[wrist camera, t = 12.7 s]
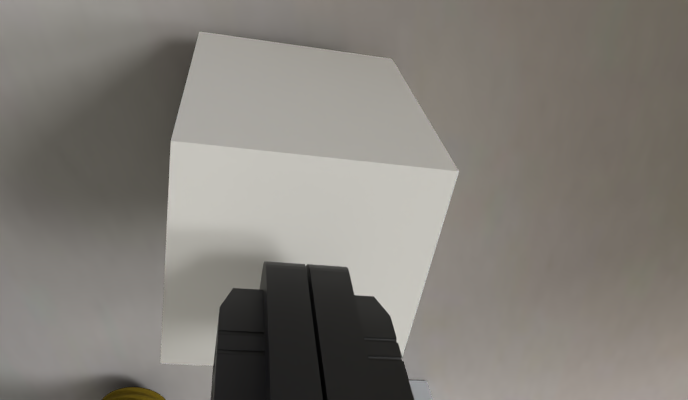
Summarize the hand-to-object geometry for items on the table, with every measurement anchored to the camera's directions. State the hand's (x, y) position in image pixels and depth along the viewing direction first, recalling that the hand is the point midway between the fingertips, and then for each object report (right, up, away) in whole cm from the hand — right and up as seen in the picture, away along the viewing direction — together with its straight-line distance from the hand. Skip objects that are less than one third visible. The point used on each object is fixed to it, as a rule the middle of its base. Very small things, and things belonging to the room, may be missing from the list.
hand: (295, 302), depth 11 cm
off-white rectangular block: (-1, +4, +7) cm, 8 cm away
